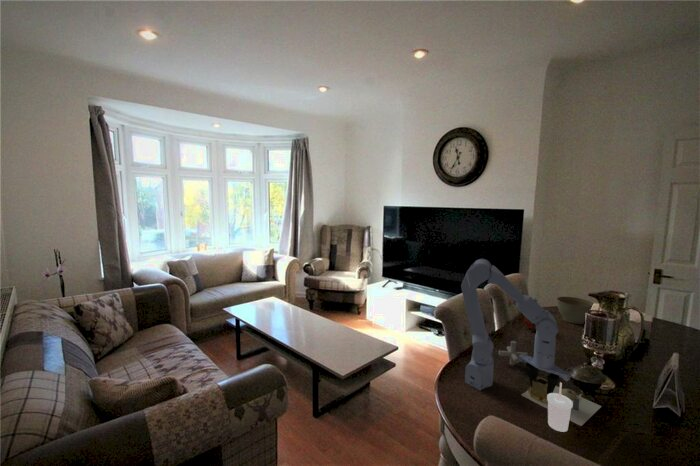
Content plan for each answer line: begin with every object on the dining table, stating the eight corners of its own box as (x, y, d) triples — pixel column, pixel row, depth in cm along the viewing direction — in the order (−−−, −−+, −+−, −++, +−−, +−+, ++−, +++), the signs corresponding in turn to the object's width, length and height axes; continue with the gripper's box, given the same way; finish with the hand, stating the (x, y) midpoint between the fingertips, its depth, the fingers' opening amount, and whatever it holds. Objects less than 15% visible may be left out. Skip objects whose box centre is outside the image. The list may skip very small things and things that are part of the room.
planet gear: (547, 406, 97) (548, 391, 96) (524, 394, 103) (525, 379, 102) (558, 397, 101) (559, 383, 100) (535, 386, 107) (536, 372, 106)
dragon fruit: (549, 338, 149) (522, 333, 158) (553, 324, 153) (527, 320, 162) (543, 327, 146) (517, 322, 155) (548, 312, 150) (522, 309, 159)
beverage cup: (546, 418, 93) (550, 374, 92) (571, 428, 89) (575, 382, 88) (542, 429, 89) (546, 383, 87) (569, 440, 85) (572, 392, 83)
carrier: (580, 429, 89) (582, 416, 88) (520, 397, 103) (521, 386, 102) (601, 409, 97) (602, 397, 96) (543, 382, 111) (543, 372, 110)
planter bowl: (599, 328, 156) (601, 307, 155) (563, 325, 160) (564, 305, 159) (583, 316, 172) (585, 297, 170) (550, 314, 175) (552, 295, 174)
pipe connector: (530, 374, 116) (532, 349, 115) (501, 372, 118) (503, 346, 117) (521, 361, 126) (523, 337, 124) (495, 358, 128) (496, 335, 126)
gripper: (575, 357, 96) (572, 398, 98) (527, 339, 108) (525, 376, 110) (565, 363, 93) (562, 406, 94) (516, 345, 105) (514, 382, 106)
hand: (541, 390), depth 102 cm, fingers closed on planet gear, 4 cm apart
